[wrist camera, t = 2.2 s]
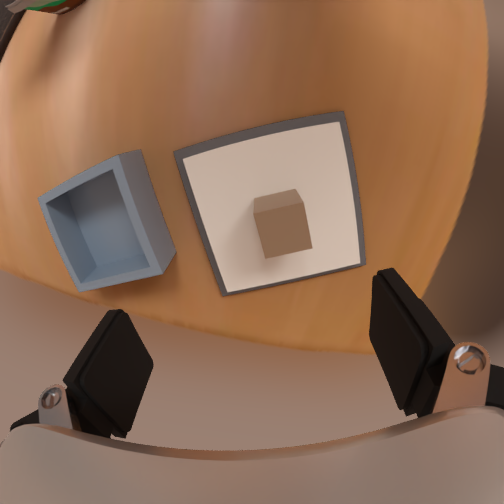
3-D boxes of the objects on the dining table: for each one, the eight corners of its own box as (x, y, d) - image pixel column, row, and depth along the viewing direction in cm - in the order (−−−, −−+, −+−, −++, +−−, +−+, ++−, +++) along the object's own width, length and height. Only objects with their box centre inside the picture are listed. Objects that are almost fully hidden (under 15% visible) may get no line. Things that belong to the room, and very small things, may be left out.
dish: (140, 149, 25) (118, 154, 20) (176, 251, 30) (162, 273, 25) (63, 186, 26) (37, 198, 22) (98, 271, 31) (79, 292, 27)
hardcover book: (-31, 61, 15) (-39, 62, 13) (28, -42, 7) (21, -45, 4) (-2, 72, 18) (-12, 72, 16) (73, -51, 10) (66, -56, 8)
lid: (336, 122, 23) (357, 120, 18) (357, 259, 29) (376, 287, 24) (185, 158, 25) (165, 166, 19) (228, 287, 31) (222, 320, 26)
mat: (342, 111, 23) (343, 111, 22) (364, 262, 30) (366, 264, 29) (174, 151, 25) (173, 151, 25) (223, 293, 32) (222, 296, 32)
